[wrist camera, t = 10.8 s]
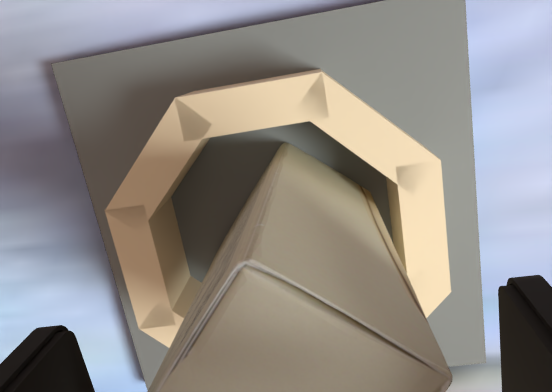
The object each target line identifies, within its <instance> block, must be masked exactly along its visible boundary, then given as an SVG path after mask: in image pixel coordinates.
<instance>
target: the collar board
mask: <svg viewBox="0 0 552 392" xmlns="http://www.w3.org/2000/svg"><path fill="white" fill-rule="evenodd" d="M51 65H52V69H53V72H54V76H55V79H56V82H57V86H58V89H59V92H60V96H61V99H62V103H63V106H64V109H65V113H66V116H67V120H68V123H69V126H70V130H71V133H72V136H73V140H74V143H75V147H76V150H77V153H78V157H79V160H80V163H81V167H82V170H83V174H84V177H85V180H86V184H87V187H88V191H89V194H90V197H91V201H92V204H93V207H94V211H95V214H96V218H97V221H98V224H99V228H100V231H101V235H102V238H103V241H104V245H105V248H106V251H107V255H108V258H109V262H110V265H111V268H112V272H113V275H114V279H115V282H116V285H117V289H118V292H119V295H120V299H121V302H122V306H123V309H124V312H125V316H126V319H127V322H128V326H129V329H130V333H131V336H132V339H133V343H134V346H135V350H136V353H137V356H138V360H139V363H140V366H141V370H142V373H143V377H144V380H145V383H146V387H147V390H149V388H150V386H151V384H152V382H153V380H154V378H155V376H156V374H157V372H158V370H159V368H160V366H161V364H162V362H163V360H164V358H165V356H166V354H167V352H168V350H169V348H170V346H171V344H172V342H173V340H174V338H175V336H176V334H177V332H178V330H179V328H180V326H181V324H182V322H183V320H184V318H185V316H186V314H187V312H188V310H189V307H190V305H191V304H192V302H193V300H194V298H195V296H196V293H197V292H198V290H199V288H200V286H201V284H202V282H203V280H204V278H205V276H206V274H207V272H208V270H209V268H210V266H211V264H212V262H213V259H214V257H215V255H216V253H217V251H218V250H219V248H220V246H221V244H222V242H223V241H224V239H225V237H226V235H227V234H228V232H229V230H230V228H231V226H232V225H233V223H234V221H235V220H236V218H237V216H238V214H239V213H240V211H241V209H242V208H243V206H244V204H245V203H246V201H247V199H248V198H249V196H250V194H251V193H252V191H253V189H254V188H255V186H256V184H257V183H258V181H259V179H260V178H261V176H262V174H263V173H264V171H265V170H266V168H267V166H268V165H269V163H270V162H271V160H272V158H273V157H274V155H275V154H276V152H277V150H278V149H279V147H280V146H281V145H282V144H283V143H290V144H291V145H293V146H295V147H297V148H298V149H300V150H302V151H304V152H305V153H307V154H309V155H311V156H312V157H314V158H316V159H317V160H319V161H321V162H322V163H324V164H326V165H327V166H329V167H331V168H332V169H334V170H336V171H338V172H339V173H341V174H343V175H344V176H346V177H347V178H349V179H350V180H352V181H354V182H355V183H357V184H358V185H360V186H362V187H363V188H365V189H367V190H368V191H369V192H370V193H371V195H372V197H373V199H374V202H375V204H376V206H377V209H378V211H379V213H380V215H381V218H382V220H383V222H384V225H385V227H386V229H387V231H388V233H389V235H390V238H391V240H392V242H393V245H394V247H395V249H396V252H397V254H398V256H399V258H400V260H401V262H402V265H403V267H404V269H405V271H406V274H407V276H408V278H409V280H410V282H411V285H412V287H413V289H414V291H415V294H416V296H417V298H418V301H419V303H420V305H421V308H422V310H423V312H424V314H425V317H426V319H427V321H428V324H429V326H430V328H431V330H432V332H433V334H434V336H435V339H436V341H437V343H438V345H439V347H440V349H441V351H442V354H443V356H444V358H445V360H446V363H447V365H448V367H450V366H460V365H470V364H480V363H486V354H485V337H484V319H483V302H482V284H481V267H480V249H479V232H478V214H477V197H476V180H475V162H474V145H473V127H472V110H471V92H470V75H469V57H468V40H467V22H466V5H465V0H384V1H379V2H374V3H369V4H363V5H358V6H353V7H347V8H342V9H337V10H332V11H326V12H321V13H316V14H311V15H305V16H300V17H295V18H290V19H284V20H279V21H274V22H268V23H263V24H258V25H253V26H247V27H242V28H237V29H232V30H226V31H221V32H216V33H211V34H205V35H200V36H195V37H189V38H184V39H179V40H174V41H168V42H163V43H158V44H153V45H147V46H142V47H137V48H132V49H126V50H121V51H116V52H110V53H105V54H100V55H95V56H89V57H84V58H79V59H74V60H68V61H63V62H58V63H53V64H51Z"/></svg>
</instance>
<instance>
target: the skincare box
mask: <svg viewBox="0 0 552 392" xmlns="http://www.w3.org/2000/svg"><path fill="white" fill-rule="evenodd" d="M451 382H452V374H451V372H450V370H449V368H448V365H447V363H446V360H445V358H444V356H443V354H442V351H441V349H440V347H439V345H438V343H437V341H436V339H435V336H434V334H433V332H432V330H431V328H430V326H429V324H428V321H427V319H426V317H425V314H424V312H423V310H422V308H421V305H420V303H419V301H418V298H417V296H416V294H415V291H414V289H413V287H412V285H411V282H410V280H409V278H408V276H407V274H406V271H405V269H404V267H403V265H402V262H401V260H400V258H399V256H398V254H397V252H396V249H395V247H394V245H393V242H392V240H391V238H390V235H389V233H388V231H387V229H386V227H385V225H384V222H383V220H382V218H381V215H380V213H379V211H378V209H377V206H376V204H375V202H374V199H373V197H372V195H371V193H370V192H369V191H368V190H367V189H365V188H363V187H362V186H360V185H358V184H357V183H355V182H354V181H352V180H350V179H349V178H347V177H346V176H344V175H343V174H341V173H339V172H338V171H336V170H334V169H332V168H331V167H329V166H327V165H326V164H324V163H322V162H321V161H319V160H317V159H316V158H314V157H312V156H311V155H309V154H307V153H305V152H304V151H302V150H300V149H298V148H297V147H295V146H293V145H291V144H290V143H283V144H282V145H281V146H280V147H279V149H278V150H277V152H276V154H275V155H274V157H273V158H272V160H271V162H270V163H269V165H268V166H267V168H266V170H265V171H264V173H263V174H262V176H261V178H260V179H259V181H258V183H257V184H256V186H255V188H254V189H253V191H252V193H251V194H250V196H249V198H248V199H247V201H246V203H245V204H244V206H243V208H242V209H241V211H240V213H239V214H238V216H237V218H236V220H235V221H234V223H233V225H232V226H231V228H230V230H229V232H228V234H227V235H226V237H225V239H224V241H223V242H222V244H221V246H220V248H219V250H218V251H217V253H216V255H215V257H214V259H213V262H212V264H211V266H210V268H209V270H208V272H207V274H206V276H205V278H204V280H203V282H202V284H201V286H200V288H199V290H198V292H197V293H196V296H195V298H194V300H193V302H192V304H191V305H190V307H189V310H188V312H187V314H186V316H185V318H184V320H183V322H182V324H181V326H180V328H179V330H178V332H177V334H176V336H175V338H174V340H173V342H172V344H171V346H170V348H169V350H168V352H167V354H166V356H165V358H164V360H163V362H162V364H161V366H160V368H159V370H158V372H157V374H156V376H155V378H154V380H153V382H152V384H151V386H150V388H149V390H148V392H445V391H446V390H447V389H448V387H449V386H450V384H451Z"/></svg>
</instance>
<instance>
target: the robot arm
mask: <svg viewBox="0 0 552 392" xmlns="http://www.w3.org/2000/svg"><path fill="white" fill-rule="evenodd" d="M498 297H499V323H500V349H501V375H502V392H552V287H551V286H550V285H549V284H548V283H547V281H546V280H545V279H544V278H543V277H542V276H540V275H534V276H524V277H515V278H509V279H508V282H507V286H500V287H499V290H498ZM0 392H95V391H94V388H93V385H92V382H91V379H90V377H89V374H88V371H87V368H86V365H85V362H84V359H83V357H82V354H81V351H80V348H79V345H78V342H77V339H76V337H75V335H74V333H73V332H72V331H68V329H67V328H66V327H65V326H62V325H59V326H50V327H40V328H36V329H35V330H34V331H33V332H32V333H31V334H30V335H29V336H28V337H27V338H26V339H25V340H24V341H23V342H22V343H21V344H20V345H19V346H18V347H17V348H16V349H15V350H14V351H13V352H12V353H11V354H10V355H9V356H8V357H7V358H6V359H5V360H4V361H3V362H2V363H1V364H0Z"/></svg>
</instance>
